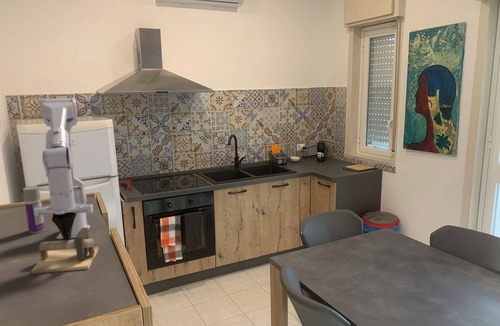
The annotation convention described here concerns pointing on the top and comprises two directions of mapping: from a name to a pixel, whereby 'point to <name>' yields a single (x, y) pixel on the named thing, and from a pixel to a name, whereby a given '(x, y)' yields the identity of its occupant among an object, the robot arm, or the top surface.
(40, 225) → the container
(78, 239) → the collar
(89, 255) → the pipe stand
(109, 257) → the top surface
